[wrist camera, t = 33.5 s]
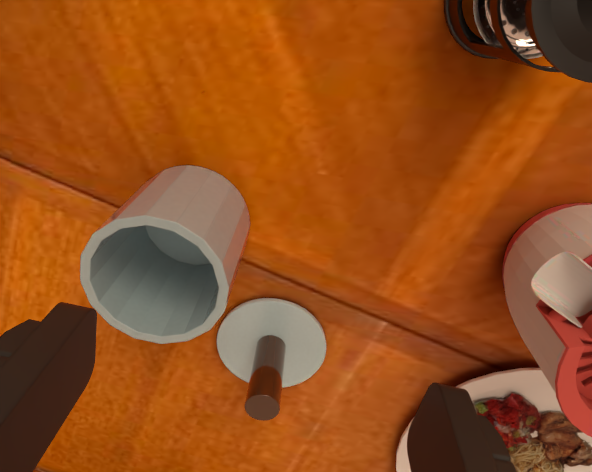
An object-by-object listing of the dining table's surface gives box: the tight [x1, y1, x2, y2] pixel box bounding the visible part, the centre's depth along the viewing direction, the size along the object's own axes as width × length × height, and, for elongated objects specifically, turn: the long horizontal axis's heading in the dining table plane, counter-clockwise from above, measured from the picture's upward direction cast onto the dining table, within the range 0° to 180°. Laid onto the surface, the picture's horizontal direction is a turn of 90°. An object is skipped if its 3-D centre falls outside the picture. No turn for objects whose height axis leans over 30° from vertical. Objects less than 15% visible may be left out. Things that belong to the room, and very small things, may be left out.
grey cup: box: [80, 165, 250, 344], centre depth 41 cm, size 12×12×12 cm
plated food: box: [396, 368, 592, 472], centre depth 58 cm, size 30×30×3 cm
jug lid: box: [217, 298, 326, 420], centre depth 49 cm, size 13×13×10 cm
